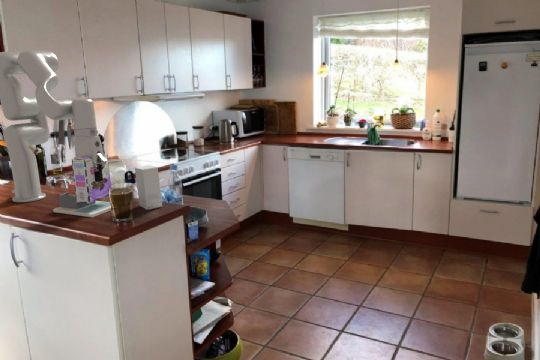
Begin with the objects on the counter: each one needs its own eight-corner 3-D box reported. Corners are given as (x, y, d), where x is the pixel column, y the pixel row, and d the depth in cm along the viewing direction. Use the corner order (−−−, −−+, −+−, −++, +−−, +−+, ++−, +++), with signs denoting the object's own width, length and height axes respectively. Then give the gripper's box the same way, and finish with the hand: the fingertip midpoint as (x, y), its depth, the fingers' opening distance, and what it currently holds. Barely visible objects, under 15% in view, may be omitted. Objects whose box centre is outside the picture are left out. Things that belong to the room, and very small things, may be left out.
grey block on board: (53, 211, 174) (51, 196, 173) (84, 201, 187) (82, 187, 186) (92, 217, 165) (90, 201, 164) (121, 206, 179) (120, 191, 177)
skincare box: (162, 207, 175) (159, 167, 172) (145, 210, 172) (141, 169, 168) (154, 202, 182) (150, 164, 179) (138, 205, 178) (134, 166, 175)
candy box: (89, 203, 166) (84, 159, 163) (75, 203, 168) (70, 158, 164) (112, 194, 179) (108, 152, 176) (99, 193, 181) (95, 152, 177)
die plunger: (66, 204, 177) (63, 184, 175) (78, 200, 182) (76, 181, 180) (77, 206, 174) (74, 185, 172) (89, 202, 179) (87, 182, 178)
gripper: (111, 132, 168) (117, 180, 172) (77, 131, 175) (83, 177, 179) (95, 134, 161) (101, 184, 165) (61, 133, 168) (67, 181, 172)
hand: (92, 180), depth 172 cm, fingers closed on candy box, 6 cm apart
